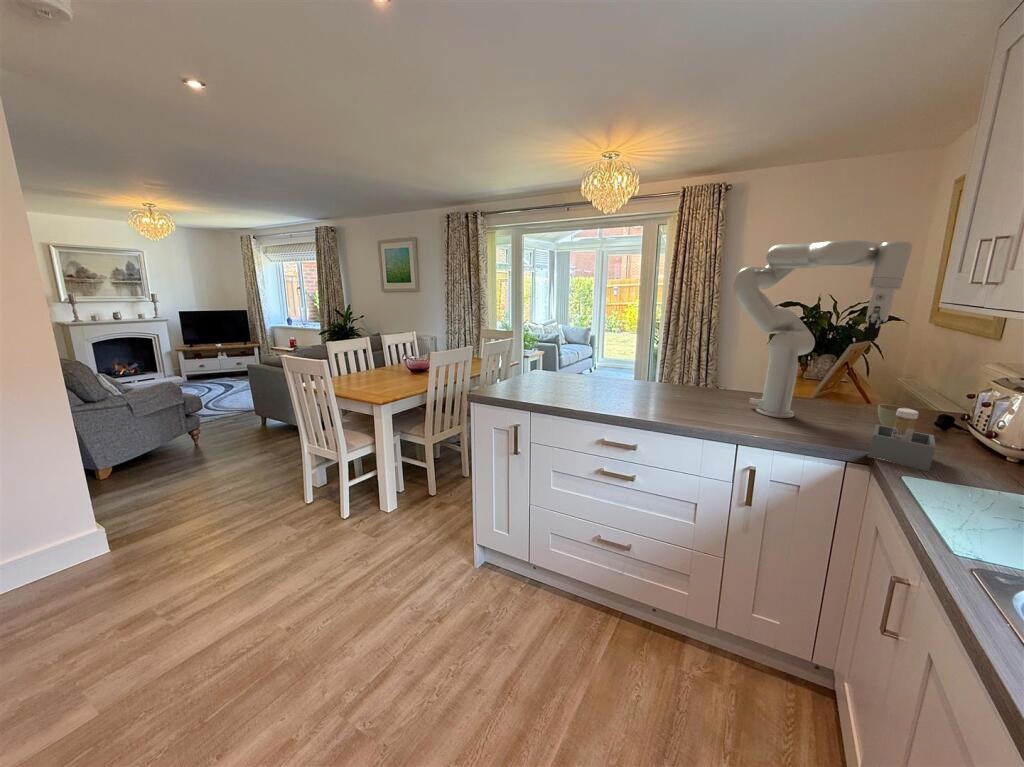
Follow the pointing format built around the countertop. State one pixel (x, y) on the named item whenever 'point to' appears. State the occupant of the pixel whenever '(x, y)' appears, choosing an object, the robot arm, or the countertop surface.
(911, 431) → the sprinkles bottle
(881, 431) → the bin
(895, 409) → the pale green bowl
